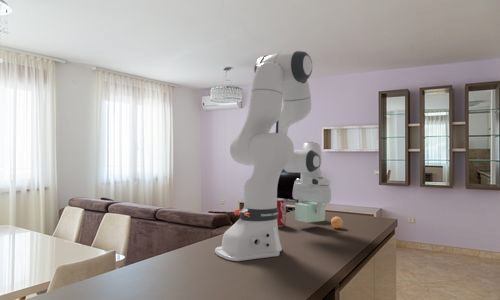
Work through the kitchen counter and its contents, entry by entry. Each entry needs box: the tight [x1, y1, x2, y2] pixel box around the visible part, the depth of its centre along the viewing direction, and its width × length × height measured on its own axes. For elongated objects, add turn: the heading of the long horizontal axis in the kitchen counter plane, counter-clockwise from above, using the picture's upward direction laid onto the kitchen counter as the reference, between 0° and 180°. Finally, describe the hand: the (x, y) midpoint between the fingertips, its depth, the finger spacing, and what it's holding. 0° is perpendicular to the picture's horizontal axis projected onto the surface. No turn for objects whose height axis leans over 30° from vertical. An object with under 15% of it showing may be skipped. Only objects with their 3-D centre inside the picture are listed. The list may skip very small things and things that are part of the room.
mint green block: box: [294, 202, 326, 224], centre depth 148 cm, size 11×7×7 cm
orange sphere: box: [330, 216, 344, 229], centre depth 147 cm, size 5×5×5 cm
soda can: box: [277, 197, 287, 228], centre depth 152 cm, size 7×7×12 cm
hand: (310, 211), depth 148 cm, fingers closed on mint green block, 7 cm apart
